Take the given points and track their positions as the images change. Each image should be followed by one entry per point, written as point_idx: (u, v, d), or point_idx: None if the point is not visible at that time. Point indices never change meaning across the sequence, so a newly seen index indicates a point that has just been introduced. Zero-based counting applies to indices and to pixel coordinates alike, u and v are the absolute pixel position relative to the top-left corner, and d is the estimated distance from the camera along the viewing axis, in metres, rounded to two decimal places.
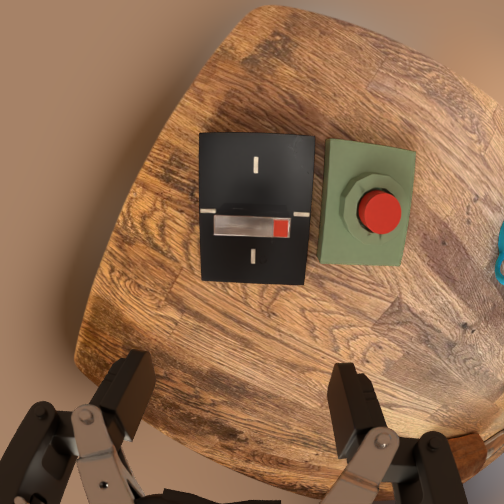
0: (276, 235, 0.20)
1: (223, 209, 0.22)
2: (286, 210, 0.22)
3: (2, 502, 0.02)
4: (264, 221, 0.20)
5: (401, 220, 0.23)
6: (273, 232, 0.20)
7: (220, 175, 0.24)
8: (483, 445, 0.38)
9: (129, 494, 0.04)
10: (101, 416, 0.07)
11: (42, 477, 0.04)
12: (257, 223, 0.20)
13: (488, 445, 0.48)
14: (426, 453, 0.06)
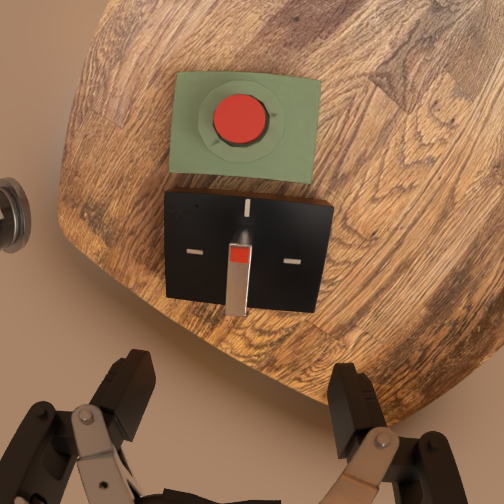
0: (246, 260, 0.18)
1: None
2: (233, 234, 0.21)
3: (2, 502, 0.02)
4: (232, 270, 0.19)
5: (253, 88, 0.18)
6: (244, 262, 0.19)
7: (205, 284, 0.25)
8: None
9: (129, 494, 0.04)
10: (101, 416, 0.07)
11: (42, 477, 0.04)
12: (234, 277, 0.19)
13: None
14: (426, 453, 0.06)
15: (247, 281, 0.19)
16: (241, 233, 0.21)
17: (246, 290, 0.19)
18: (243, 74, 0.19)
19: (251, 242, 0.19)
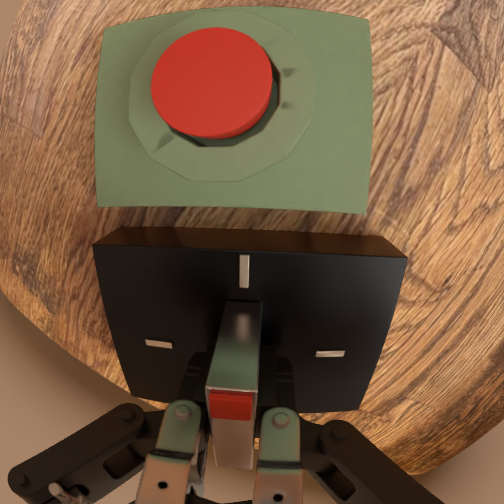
0: (248, 417, 0.07)
1: None
2: None
3: (35, 479, 0.04)
4: (219, 424, 0.08)
5: (240, 22, 0.07)
6: (242, 417, 0.07)
7: None
8: None
9: (183, 503, 0.04)
10: (200, 410, 0.08)
11: (96, 474, 0.05)
12: (224, 432, 0.08)
13: None
14: (327, 441, 0.07)
15: (252, 437, 0.08)
16: (234, 339, 0.09)
17: (251, 446, 0.08)
18: (220, 11, 0.08)
19: (256, 375, 0.08)
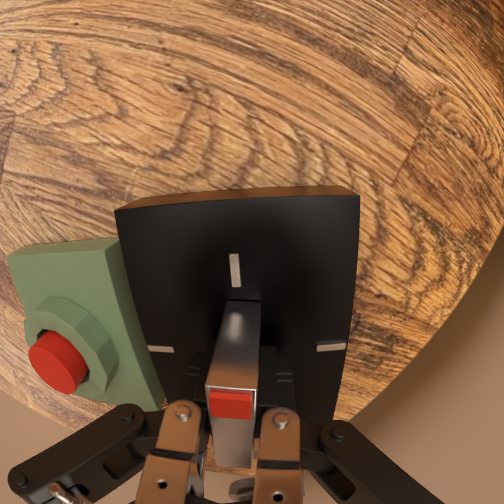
0: (247, 416, 0.07)
1: None
2: (217, 337, 0.10)
3: (35, 479, 0.04)
4: (219, 423, 0.08)
5: (31, 343, 0.13)
6: (242, 416, 0.07)
7: (305, 390, 0.14)
8: None
9: (183, 503, 0.04)
10: (200, 410, 0.08)
11: (96, 473, 0.05)
12: (224, 431, 0.08)
13: None
14: (327, 441, 0.07)
15: (251, 436, 0.08)
16: (234, 338, 0.09)
17: (251, 445, 0.08)
18: None
19: (256, 374, 0.08)
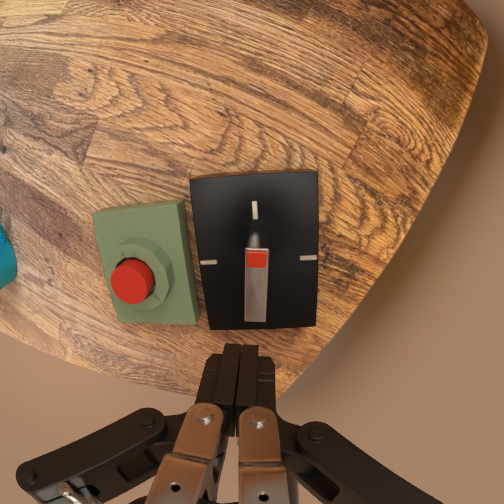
0: (264, 264, 0.18)
1: None
2: (247, 238, 0.20)
3: (45, 477, 0.04)
4: (250, 275, 0.18)
5: (108, 272, 0.23)
6: (261, 267, 0.18)
7: (295, 292, 0.24)
8: None
9: None
10: (222, 413, 0.08)
11: (109, 476, 0.06)
12: (252, 282, 0.19)
13: None
14: (304, 443, 0.07)
15: (266, 286, 0.19)
16: (256, 237, 0.20)
17: (265, 295, 0.19)
18: None
19: (267, 245, 0.18)
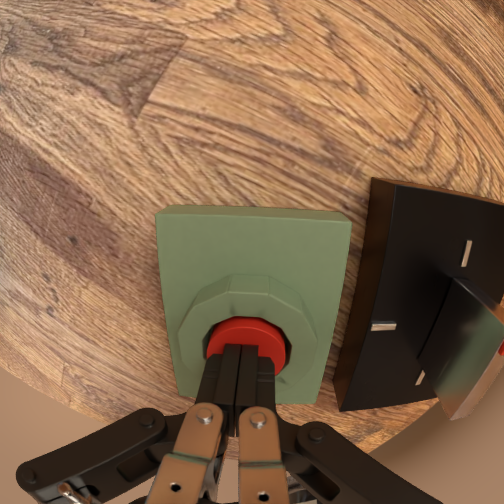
0: None
1: (439, 388, 0.11)
2: (477, 302, 0.10)
3: (45, 477, 0.04)
4: (492, 364, 0.08)
5: (190, 337, 0.12)
6: None
7: None
8: None
9: None
10: (222, 413, 0.08)
11: (109, 476, 0.06)
12: (489, 373, 0.08)
13: None
14: (304, 443, 0.07)
15: (497, 374, 0.08)
16: (487, 301, 0.09)
17: (490, 385, 0.08)
18: (170, 329, 0.15)
19: None
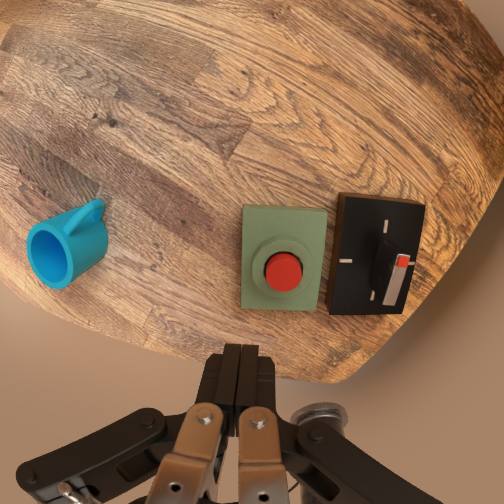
0: (407, 265, 0.24)
1: (377, 292, 0.28)
2: (387, 246, 0.26)
3: (45, 477, 0.04)
4: (395, 272, 0.25)
5: (258, 263, 0.29)
6: (404, 267, 0.24)
7: None
8: None
9: None
10: (222, 413, 0.08)
11: (109, 476, 0.06)
12: (395, 277, 0.25)
13: None
14: (304, 443, 0.07)
15: (402, 280, 0.25)
16: (393, 246, 0.26)
17: (400, 286, 0.25)
18: (243, 264, 0.31)
19: (407, 253, 0.24)
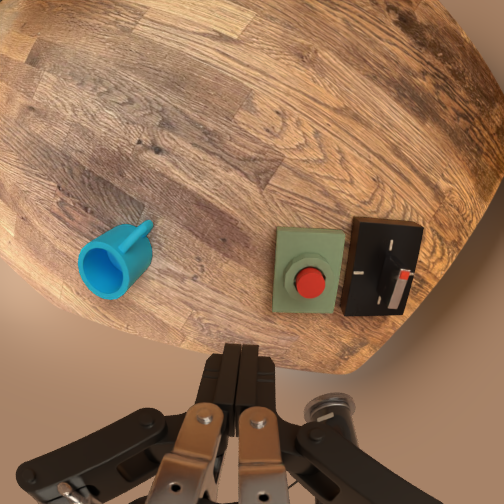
0: (407, 278, 0.31)
1: (383, 298, 0.34)
2: (392, 262, 0.33)
3: (45, 477, 0.04)
4: (398, 283, 0.31)
5: (290, 275, 0.36)
6: (405, 279, 0.31)
7: None
8: None
9: None
10: (222, 413, 0.08)
11: (109, 476, 0.06)
12: (398, 286, 0.31)
13: None
14: (304, 443, 0.07)
15: (403, 289, 0.31)
16: (397, 262, 0.33)
17: None
18: (276, 276, 0.38)
19: (407, 268, 0.31)
